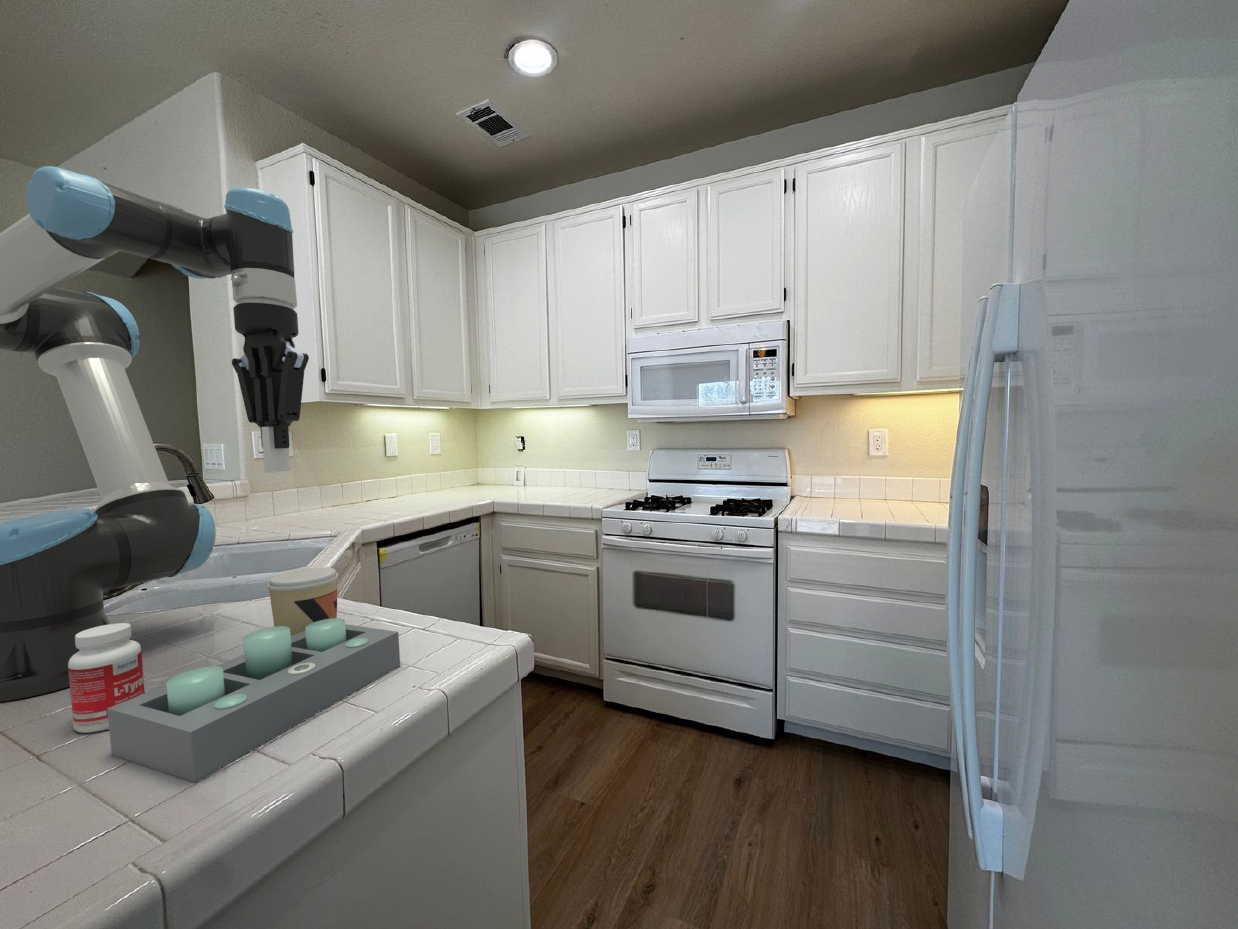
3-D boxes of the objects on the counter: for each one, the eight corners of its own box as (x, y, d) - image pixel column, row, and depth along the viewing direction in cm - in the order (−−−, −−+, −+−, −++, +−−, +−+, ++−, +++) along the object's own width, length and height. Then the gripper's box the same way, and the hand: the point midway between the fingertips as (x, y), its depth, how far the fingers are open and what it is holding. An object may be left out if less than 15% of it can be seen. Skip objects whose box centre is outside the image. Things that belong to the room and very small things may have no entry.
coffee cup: (308, 665, 74) (302, 584, 74) (256, 660, 76) (251, 581, 76) (355, 640, 83) (351, 567, 83) (308, 636, 86) (304, 566, 85)
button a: (159, 728, 55) (155, 683, 55) (209, 705, 59) (205, 664, 59) (187, 736, 53) (183, 689, 53) (236, 712, 58) (232, 669, 57)
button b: (236, 678, 62) (233, 638, 62) (275, 662, 67) (273, 624, 66) (263, 684, 61) (260, 643, 60) (301, 666, 65) (298, 628, 65)
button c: (299, 664, 70) (297, 628, 70) (330, 650, 74) (328, 616, 74) (324, 669, 68) (322, 632, 68) (355, 654, 73) (353, 620, 72)
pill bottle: (123, 730, 59) (114, 636, 58) (58, 739, 57) (48, 642, 57) (158, 703, 65) (151, 617, 64) (100, 710, 63) (92, 623, 63)
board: (111, 754, 54) (107, 706, 54) (329, 653, 78) (327, 620, 78) (194, 782, 49) (190, 730, 49) (400, 665, 73) (398, 630, 73)
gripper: (207, 306, 71) (220, 474, 73) (271, 294, 67) (283, 473, 68) (261, 317, 78) (272, 470, 80) (322, 307, 74) (332, 469, 75)
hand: (277, 471), depth 74 cm, fingers closed
